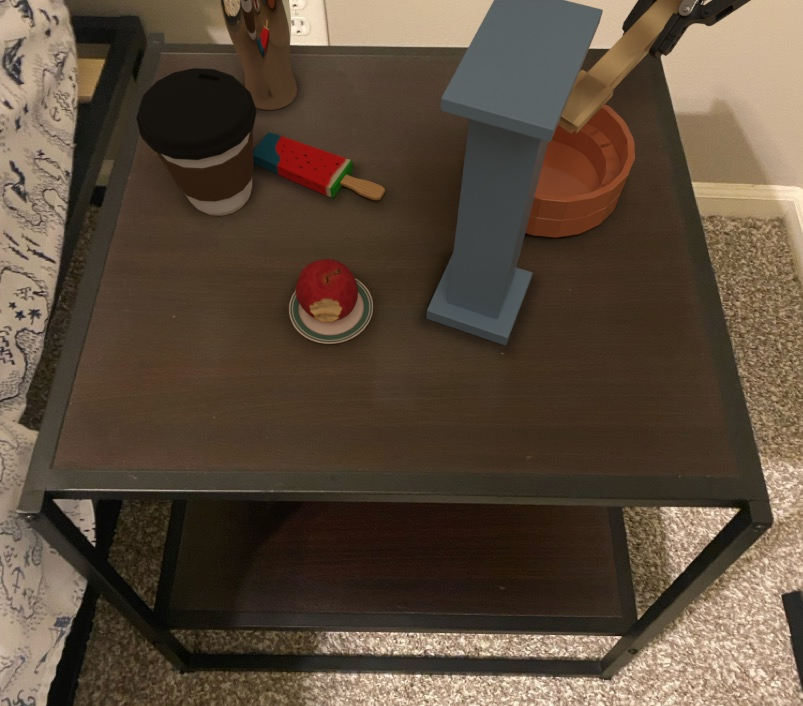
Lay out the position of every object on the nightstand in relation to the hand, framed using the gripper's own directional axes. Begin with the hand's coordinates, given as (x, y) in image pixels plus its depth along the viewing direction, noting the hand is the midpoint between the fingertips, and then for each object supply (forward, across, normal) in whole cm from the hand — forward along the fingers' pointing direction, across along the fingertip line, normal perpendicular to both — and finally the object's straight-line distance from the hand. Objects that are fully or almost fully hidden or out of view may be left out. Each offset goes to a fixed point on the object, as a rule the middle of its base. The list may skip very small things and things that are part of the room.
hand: (640, 47), depth 67 cm
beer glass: (+24, +33, +4) cm, 41 cm away
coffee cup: (+33, +25, +14) cm, 44 cm away
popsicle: (+27, +20, +8) cm, 34 cm away
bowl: (+15, +2, -4) cm, 16 cm away
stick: (+1, 0, +3) cm, 3 cm away
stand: (+27, -3, +8) cm, 28 cm away
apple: (+35, +6, +16) cm, 38 cm away
